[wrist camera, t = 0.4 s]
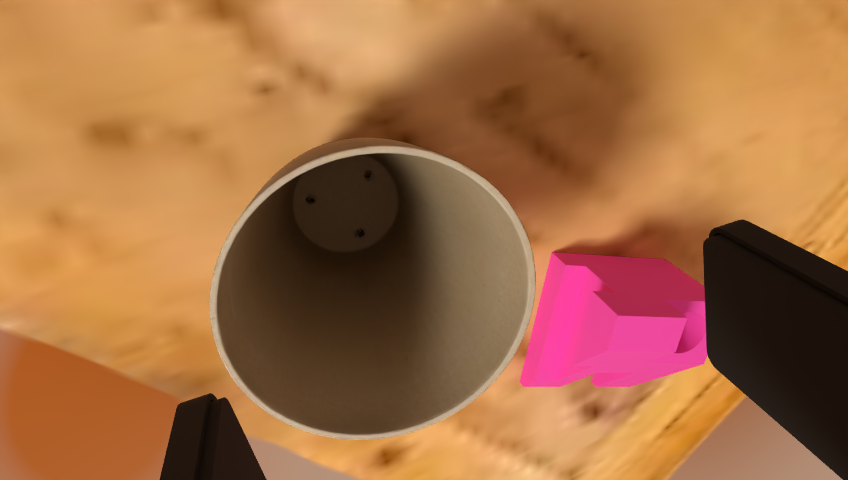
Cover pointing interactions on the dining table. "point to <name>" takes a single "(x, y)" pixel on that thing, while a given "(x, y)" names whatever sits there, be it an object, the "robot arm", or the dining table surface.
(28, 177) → the dining table surface
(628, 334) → the bracket
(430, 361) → the plant pot
